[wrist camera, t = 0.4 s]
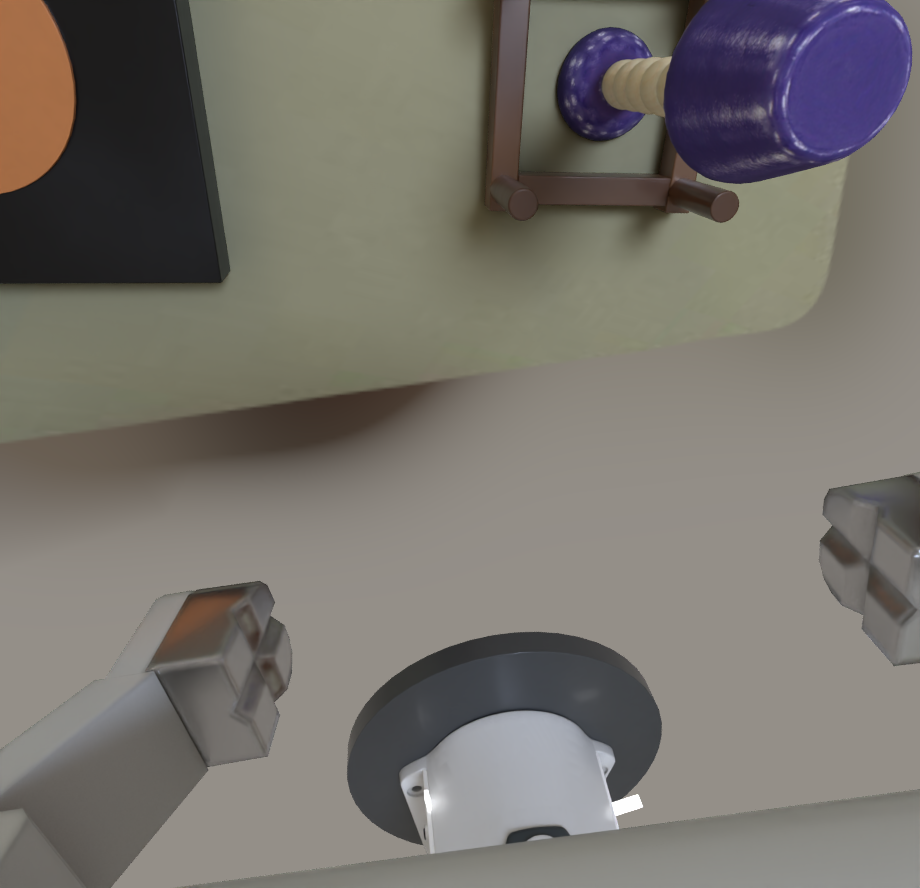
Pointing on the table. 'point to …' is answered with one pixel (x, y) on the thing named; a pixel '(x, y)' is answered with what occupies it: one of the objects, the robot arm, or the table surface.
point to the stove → (105, 146)
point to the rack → (531, 189)
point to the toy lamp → (748, 84)
